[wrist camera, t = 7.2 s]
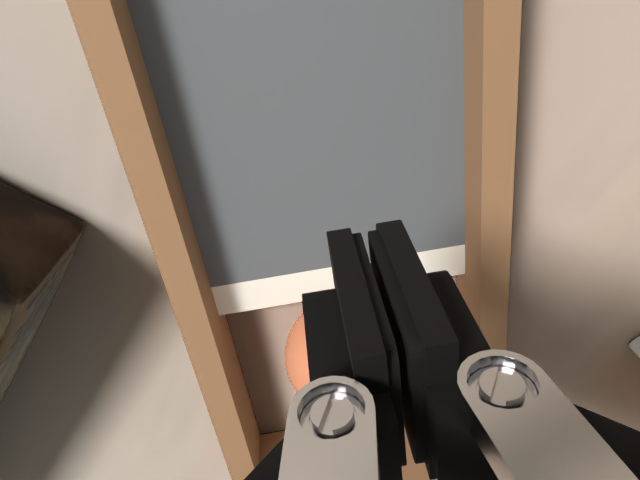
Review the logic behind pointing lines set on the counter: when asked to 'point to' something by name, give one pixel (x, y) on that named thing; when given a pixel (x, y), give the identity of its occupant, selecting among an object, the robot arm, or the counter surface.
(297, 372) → the ball
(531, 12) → the counter surface
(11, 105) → the counter surface
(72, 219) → the beverage carton
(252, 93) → the lane
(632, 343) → the skincare box
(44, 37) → the counter surface
